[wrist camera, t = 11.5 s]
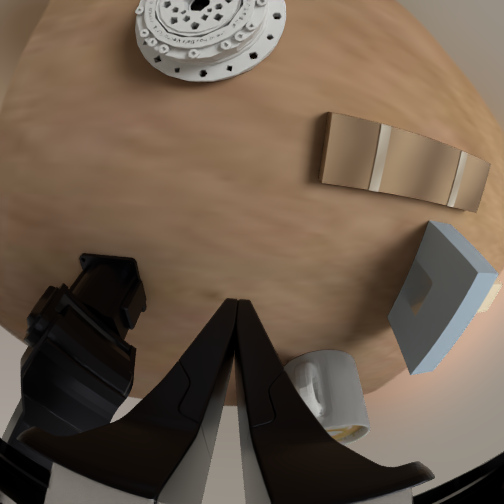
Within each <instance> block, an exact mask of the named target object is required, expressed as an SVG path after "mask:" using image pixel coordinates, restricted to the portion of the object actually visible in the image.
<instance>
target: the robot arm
mask: <svg viewBox="0 0 504 504" xmlns="http://www.w3.org/2000/svg"><path fill="white" fill-rule="evenodd" d="M80 262H81V266H82V269H83V271H82V273H81V274H80V275H79V276H78V278H77V279H76V281H75V282H74V283H73V285H72V286H71V287H70V289H68V287H67V286H66V285H65V284H64V283H63V284H62V285H61V286H60V287H59V288H58V287H53V286H49V287H48V289H47V290H46V291H45V293H44V294H43V295H42V297H41V298H40V299H39V301H38V302H37V304H36V305H35V307H34V308H33V310H32V311H31V313H30V314H29V316H28V317H27V323H28V329H27V331H26V332H27V334H26V336H25V338H24V342H26V343H27V344H28V345H29V346H28V348H27V349H26V351H25V353H24V354H23V356H22V358H21V399H20V402H19V404H18V405H17V407H16V409H15V412H14V413H13V415H12V417H11V419H10V421H9V424H8V426H7V428H6V430H5V432H4V434H3V437H2V439H1V438H0V504H201V502H202V498H203V494H204V489H205V484H206V480H207V476H208V472H209V467H210V463H211V458H212V454H213V450H214V445H215V441H216V436H217V432H218V427H219V422H220V418H221V413H222V409H223V405H224V400H225V396H226V391H227V387H228V382H229V378H230V373H231V369H232V364H233V359H234V360H235V378H236V393H237V407H238V421H239V433H240V446H241V456H242V469H243V479H244V490H245V498H246V504H504V451H503V452H501V453H500V454H498V455H497V456H495V457H493V458H492V459H490V460H488V461H486V462H485V463H483V464H481V465H480V466H478V467H476V468H474V469H472V470H470V471H468V472H466V473H464V474H462V475H460V476H458V477H456V478H454V479H452V480H450V481H447V482H445V483H443V484H441V485H439V486H437V487H435V488H432V489H430V490H428V491H425V492H423V493H420V494H418V495H415V496H413V495H412V487H415V486H417V485H420V484H423V483H425V482H427V481H430V480H432V479H434V478H435V476H434V474H433V473H432V471H431V470H430V469H429V468H428V467H426V466H424V465H423V464H422V463H420V462H418V461H417V462H412V463H408V464H405V465H402V466H398V467H386V466H381V465H379V464H377V463H375V462H373V461H371V460H369V459H367V458H365V457H363V456H362V455H360V454H358V453H356V452H354V451H353V450H351V449H349V448H347V447H346V446H344V445H342V444H341V443H339V442H338V441H336V440H335V439H334V438H332V437H331V436H330V435H329V434H328V432H327V431H326V430H325V429H324V428H323V426H322V425H321V424H320V422H319V421H318V420H317V418H316V417H315V416H314V414H313V413H312V412H311V410H310V409H309V408H308V406H307V405H306V403H305V402H304V401H303V399H302V398H301V396H300V395H299V393H298V392H297V390H296V388H295V387H294V385H293V383H292V381H291V380H290V378H289V376H288V374H287V372H286V370H285V368H284V366H283V364H282V363H281V361H280V359H279V357H278V355H277V353H276V351H275V349H274V347H273V345H272V343H271V341H270V339H269V337H268V335H267V333H266V331H265V329H264V327H263V325H262V323H261V321H260V319H259V317H258V315H257V313H256V311H255V309H254V307H253V305H252V303H251V301H250V300H245V299H239V300H237V299H232V298H227V299H226V300H225V301H224V302H223V303H222V305H221V306H220V307H219V309H218V310H217V311H216V312H215V314H214V315H213V316H212V318H211V319H210V320H209V322H208V323H207V324H206V325H205V327H204V328H203V329H202V331H201V332H200V333H199V334H198V336H197V337H196V338H195V340H194V341H193V342H192V343H191V345H190V346H189V347H188V349H187V350H186V351H185V352H184V354H183V355H182V356H181V358H180V359H179V361H178V362H177V363H176V364H175V365H174V366H173V368H172V369H171V370H170V371H169V373H168V374H167V375H166V376H165V377H164V379H163V380H162V381H161V382H160V383H159V384H158V385H157V386H156V387H155V388H154V389H153V390H152V391H151V392H150V393H149V394H148V395H147V396H146V397H144V398H143V399H142V400H141V401H140V402H139V403H138V404H137V405H136V406H135V407H134V408H133V409H132V410H131V411H130V412H129V413H128V414H126V415H125V416H124V417H122V418H120V419H119V420H117V421H115V422H112V423H110V421H111V419H112V417H113V415H114V414H115V412H116V411H117V409H118V408H119V406H120V405H121V404H122V403H123V402H124V401H125V399H126V398H127V397H128V395H129V393H130V391H131V389H132V386H133V380H134V367H135V356H136V348H135V347H133V346H132V345H129V344H128V343H127V342H126V341H125V340H124V339H125V337H126V334H127V332H128V330H129V329H131V330H132V329H133V328H134V327H135V325H136V322H137V320H138V317H139V315H140V313H141V312H144V311H145V310H146V308H147V306H146V296H145V292H144V288H143V283H142V280H141V279H140V276H139V271H138V266H137V262H136V260H135V259H133V258H128V257H117V256H106V255H96V254H86V253H83V254H82V255H81V256H80ZM130 263H132V264H133V265H132V264H130ZM234 352H235V355H234Z"/></svg>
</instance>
